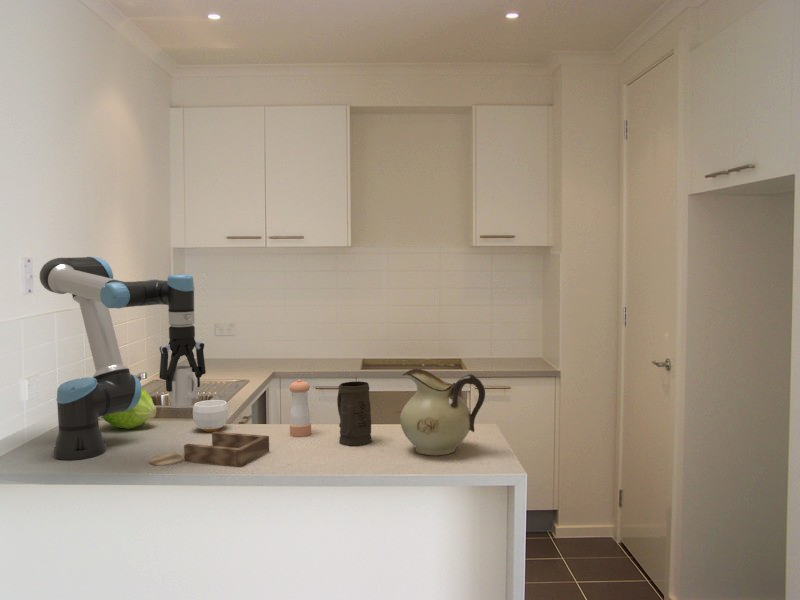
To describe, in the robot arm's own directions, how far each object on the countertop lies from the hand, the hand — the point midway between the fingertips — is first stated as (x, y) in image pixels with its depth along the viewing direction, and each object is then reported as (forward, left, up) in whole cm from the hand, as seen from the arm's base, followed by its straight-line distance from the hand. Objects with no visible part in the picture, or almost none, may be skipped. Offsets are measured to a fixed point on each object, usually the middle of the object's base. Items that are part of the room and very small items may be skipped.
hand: (183, 399), depth 214 cm
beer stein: (+41, +33, -19) cm, 56 cm away
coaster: (-5, -3, -18) cm, 19 cm away
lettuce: (-44, +28, -19) cm, 55 cm away
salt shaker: (+21, +36, -19) cm, 46 cm away
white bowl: (-13, +33, -19) cm, 40 cm away
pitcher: (+72, +30, -19) cm, 80 cm away
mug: (0, 0, -2) cm, 2 cm away
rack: (+10, +6, -18) cm, 22 cm away
